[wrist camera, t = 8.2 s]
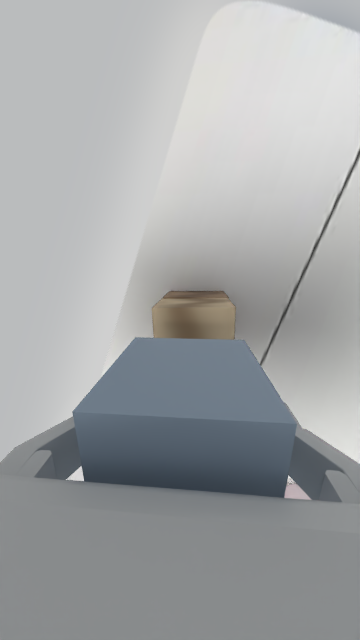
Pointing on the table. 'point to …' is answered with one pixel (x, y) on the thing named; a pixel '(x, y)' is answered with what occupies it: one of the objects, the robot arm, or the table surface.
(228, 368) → the blue block
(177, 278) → the table surface
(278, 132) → the table surface
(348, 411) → the table surface
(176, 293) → the tower base
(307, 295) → the table surface
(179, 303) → the tower top
